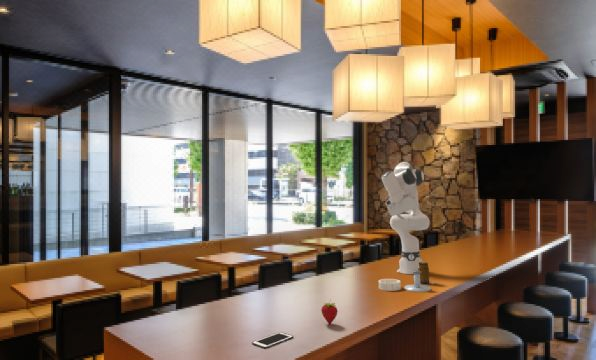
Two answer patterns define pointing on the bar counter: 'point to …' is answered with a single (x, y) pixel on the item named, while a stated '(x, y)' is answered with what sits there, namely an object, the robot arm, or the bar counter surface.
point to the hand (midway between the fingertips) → (409, 218)
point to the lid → (417, 284)
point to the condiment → (424, 273)
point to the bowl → (389, 284)
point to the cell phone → (272, 340)
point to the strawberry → (329, 312)
